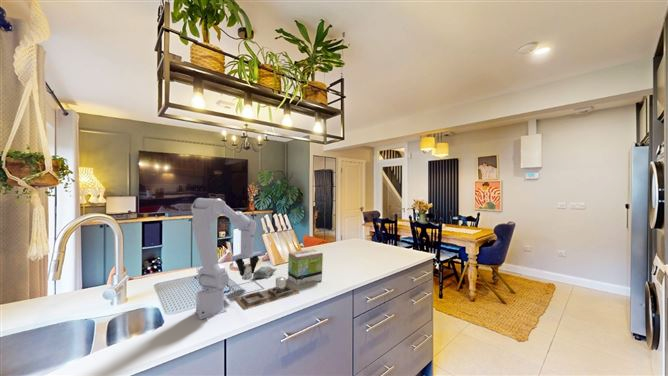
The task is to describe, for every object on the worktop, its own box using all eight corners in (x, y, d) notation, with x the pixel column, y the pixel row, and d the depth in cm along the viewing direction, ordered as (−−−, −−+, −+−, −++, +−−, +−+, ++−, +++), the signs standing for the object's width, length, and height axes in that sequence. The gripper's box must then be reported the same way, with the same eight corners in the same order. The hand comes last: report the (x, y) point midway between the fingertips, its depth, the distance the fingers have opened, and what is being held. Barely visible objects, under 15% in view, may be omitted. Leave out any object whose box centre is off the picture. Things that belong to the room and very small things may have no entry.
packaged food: (276, 273, 141) (276, 264, 141) (268, 281, 129) (268, 272, 129) (261, 273, 142) (261, 264, 142) (251, 281, 130) (251, 271, 130)
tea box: (297, 287, 122) (297, 257, 122) (287, 281, 130) (287, 252, 129) (322, 280, 131) (323, 252, 131) (311, 275, 139) (312, 248, 139)
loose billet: (243, 280, 114) (243, 267, 114) (240, 277, 118) (240, 264, 118) (253, 278, 117) (253, 265, 117) (249, 275, 121) (249, 263, 121)
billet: (278, 295, 110) (278, 281, 110) (273, 291, 113) (273, 278, 113) (287, 292, 113) (287, 279, 113) (282, 289, 116) (282, 276, 116)
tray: (238, 298, 109) (238, 295, 109) (229, 289, 119) (229, 286, 119) (264, 291, 117) (264, 288, 117) (254, 283, 126) (254, 280, 126)
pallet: (243, 313, 97) (243, 306, 97) (233, 302, 106) (233, 295, 106) (300, 296, 112) (300, 290, 112) (287, 287, 122) (287, 282, 122)
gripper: (234, 248, 110) (234, 280, 110) (265, 244, 119) (265, 272, 119) (228, 245, 115) (228, 275, 115) (259, 241, 124) (258, 269, 125)
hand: (246, 274), depth 117 cm, fingers closed on loose billet, 4 cm apart
